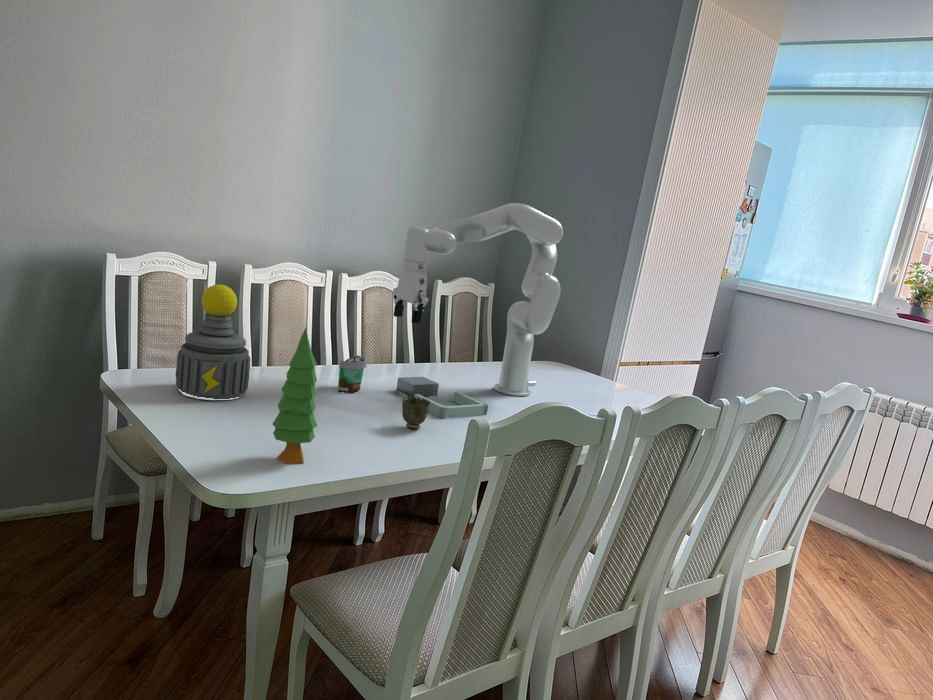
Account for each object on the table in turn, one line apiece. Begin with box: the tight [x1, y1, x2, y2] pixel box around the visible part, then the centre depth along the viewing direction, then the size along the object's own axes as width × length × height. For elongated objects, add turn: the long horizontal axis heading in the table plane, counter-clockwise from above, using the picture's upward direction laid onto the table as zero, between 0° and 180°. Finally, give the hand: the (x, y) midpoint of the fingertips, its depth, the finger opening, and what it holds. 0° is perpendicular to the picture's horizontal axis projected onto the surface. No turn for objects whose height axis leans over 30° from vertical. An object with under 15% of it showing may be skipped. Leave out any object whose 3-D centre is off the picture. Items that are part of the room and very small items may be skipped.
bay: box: [414, 391, 489, 419], centre depth 221 cm, size 17×14×3 cm
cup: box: [401, 396, 430, 431], centre depth 196 cm, size 8×7×8 cm
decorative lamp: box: [175, 284, 251, 399], centre depth 199 cm, size 19×19×30 cm
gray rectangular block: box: [396, 376, 440, 398], centre depth 234 cm, size 10×8×4 cm
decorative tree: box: [272, 327, 318, 465], centre depth 160 cm, size 10×9×30 cm
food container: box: [337, 354, 367, 394], centre depth 225 cm, size 12×6×10 cm, turn 168°
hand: (406, 319), depth 235 cm, fingers open, 9 cm apart
